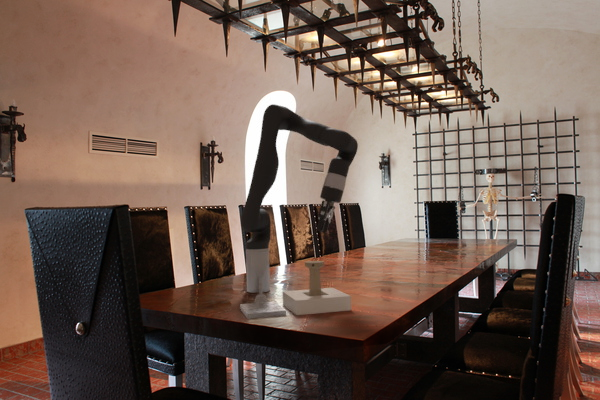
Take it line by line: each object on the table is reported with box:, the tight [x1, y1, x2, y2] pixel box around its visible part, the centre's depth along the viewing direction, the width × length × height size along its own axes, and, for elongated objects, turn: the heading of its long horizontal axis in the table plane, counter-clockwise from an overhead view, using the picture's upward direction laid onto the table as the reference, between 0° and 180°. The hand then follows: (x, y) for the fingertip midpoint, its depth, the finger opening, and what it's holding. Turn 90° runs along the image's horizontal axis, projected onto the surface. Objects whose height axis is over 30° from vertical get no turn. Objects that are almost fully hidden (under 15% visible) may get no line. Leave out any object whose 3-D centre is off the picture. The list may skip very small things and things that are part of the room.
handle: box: [304, 260, 325, 296], centre depth 159 cm, size 5×6×15 cm
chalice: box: [249, 249, 270, 303], centre depth 172 cm, size 7×7×18 cm
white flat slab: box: [239, 300, 287, 320], centre depth 154 cm, size 16×12×2 cm
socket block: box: [282, 287, 352, 316], centre depth 159 cm, size 18×18×4 cm
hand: (321, 231), depth 169 cm, fingers open, 8 cm apart
